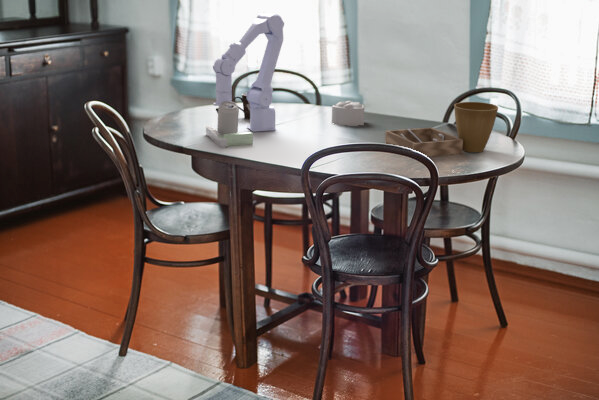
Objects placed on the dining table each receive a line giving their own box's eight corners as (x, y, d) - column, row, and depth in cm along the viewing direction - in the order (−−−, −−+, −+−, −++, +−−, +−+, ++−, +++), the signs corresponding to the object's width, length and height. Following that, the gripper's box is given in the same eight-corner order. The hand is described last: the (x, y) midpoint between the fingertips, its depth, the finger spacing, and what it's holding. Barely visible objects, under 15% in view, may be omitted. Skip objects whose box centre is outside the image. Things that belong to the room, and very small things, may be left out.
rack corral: (430, 140, 281) (431, 127, 279) (461, 154, 262) (463, 139, 261) (384, 144, 274) (385, 130, 273) (413, 158, 256) (414, 143, 254)
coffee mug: (266, 117, 318) (266, 94, 315) (254, 121, 311) (254, 96, 308) (244, 114, 323) (244, 91, 320) (231, 117, 316) (231, 93, 313)
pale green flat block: (236, 132, 289) (236, 122, 288) (254, 145, 270) (254, 134, 269) (206, 134, 285) (206, 124, 284) (221, 147, 266) (221, 136, 265)
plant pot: (446, 145, 274) (449, 101, 269) (486, 145, 275) (490, 101, 270) (456, 155, 260) (460, 109, 255) (499, 155, 261) (504, 109, 256)
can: (229, 140, 279) (231, 110, 273) (213, 133, 282) (214, 104, 276) (241, 132, 285) (243, 104, 278) (225, 126, 288) (226, 97, 281)
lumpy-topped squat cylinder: (363, 126, 304) (364, 105, 301) (331, 125, 305) (331, 104, 302) (363, 121, 314) (364, 100, 311) (331, 120, 315) (332, 99, 312)
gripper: (208, 88, 287) (209, 123, 291) (218, 94, 274) (218, 131, 278) (226, 88, 289) (226, 123, 293) (237, 94, 277) (237, 130, 281)
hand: (224, 127), depth 286 cm, fingers closed, pressing on can
